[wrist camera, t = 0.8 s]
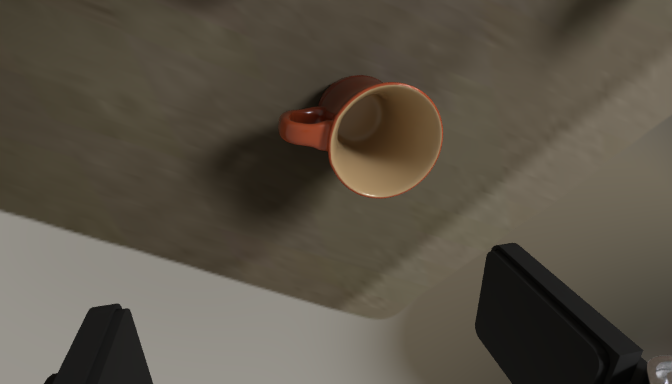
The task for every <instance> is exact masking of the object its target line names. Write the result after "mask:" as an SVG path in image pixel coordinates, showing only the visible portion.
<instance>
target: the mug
mask: <svg viewBox="0 0 672 384" xmlns="http://www.w3.org/2000/svg"><path fill="white" fill-rule="evenodd" d="M278 131H279V135H280V137H281V138H282V139H283V140H285V141H286V142H289V143H292V144H296V145H303V146H310V147H313V148H316V149H318V150H322V151H327V152H328V156H329V162H330V165H331V167H332V169H333V171H334V173H335V174H336V176H337V177H338V179H339V180H340V181H341V182H342V183H343V184H344V185H345V186H346V187H347V188H348V189H350V190H351V191H353V192H355V193H357V194H359V195H361V196H365V197H369V198H389V197H394V196H397V195H400V194H402V193H405V192H407V191H408V190H410V189H412V188H413V187H415V186H416V185H417V184H419V183H420V182H421V181H422V180H423V179H424V178H425V177H426V176H427V175H428V173H429V172H430V171H431V169H432V168H433V166H434V165H435V163H436V161H437V159H438V156H439V154H440V151H441V147H442V141H443V125H442V120H441V117H440V114H439V111H438V109H437V108H436V106H435V104H434V103H433V101H432V100H431V99H430V98H429V97H428V96H427V95H426V94H425V93H424V92H422V91H421V90H419V89H417V88H416V87H413V86H411V85H408V84H404V83H397V82H388V83H383V82H381V81H380V80H378V79H376V78H373V77H370V76H364V75H357V76H349V77H345V78H342V79H340V80H338V81H336V82H335V83H333V84H331V85H330V87H329V88H328V89H327V90H326V91H325V92H324V93H323V95H322V96H321V98H320V101H319V104H318V106H317V107H310V108H306V109H300V110H290V111H287V112H284V113H283V114H282V115H281V116H280V118H279V125H278Z"/></svg>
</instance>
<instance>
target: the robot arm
mask: <svg viewBox="0 0 672 384" xmlns="http://www.w3.org/2000/svg"><path fill="white" fill-rule="evenodd" d="M475 329H476V333H477V335H478V337H479V339H480V340H481V341H482V343H483V344H484V345H485V347H486V348H487V350H488V351H489V352H490V354H491V355H492V357H493V358H494V359H495V361H496V362H497V363H498V365H499V366H500V368H501V369H502V370H503V372H504V373H505V374H506V376H507V377H508V378H509V380H510V381H511V383H512V384H672V356H657V357H654V358H652V359H651V360H650V361H649V362H648V363H647V362H646V361H645V360H644V359H643V358H641V355H642V352H643V350H642V349H641V348H640V347H639V346H637V345H636V344H635V343H634V342H633V341H632V340H630V339H629V338H628V337H627V336H626V335H624V334H623V333H622V332H621V331H620V330H619V329H617V328H616V327H615V326H614V325H613V324H611V323H610V322H609V321H608V320H607V319H606V318H604V317H603V316H602V315H601V314H600V313H598V312H597V311H596V310H595V309H594V308H593V307H591V306H590V305H589V304H588V303H586V302H585V301H584V300H583V299H582V298H581V297H580V296H578V295H577V294H576V293H575V292H574V291H572V290H571V289H570V288H569V287H568V286H567V285H565V284H564V283H563V282H562V281H561V280H559V279H558V278H557V277H556V276H555V275H554V274H552V273H551V272H550V271H549V270H548V269H546V268H545V267H544V266H543V265H542V264H541V263H539V262H538V261H537V260H536V259H535V258H533V257H532V256H531V255H530V254H529V253H528V252H526V251H525V250H524V249H523V248H522V247H520V246H519V245H518V244H516V243H509V244H502V245H496V246H494V247H493V248H492V250H491V252H489V253H488V254H487V257H486V262H485V268H484V275H483V280H482V287H481V293H480V298H479V304H478V310H477V316H476V322H475ZM44 384H153V382H152V379H151V375H150V372H149V369H148V366H147V363H146V359H145V356H144V353H143V350H142V346H141V343H140V340H139V337H138V334H137V330H136V327H135V324H134V321H133V318H132V314H131V312H130V310H129V309H122V307H121V306H120V304H112V305H105V306H98V307H92V308H91V309H90V310H89V311H88V313H87V315H86V317H85V319H84V321H83V323H82V325H81V327H80V329H79V331H78V333H77V335H76V337H75V339H74V341H73V343H72V345H71V347H70V349H69V351H68V353H67V355H66V357H65V360H64V361H63V363H62V366H61V368H60V370H59V372H58V373H56V374H52V375H51V376H50V377H48V378H47V380H46V381H45V383H44Z"/></svg>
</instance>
